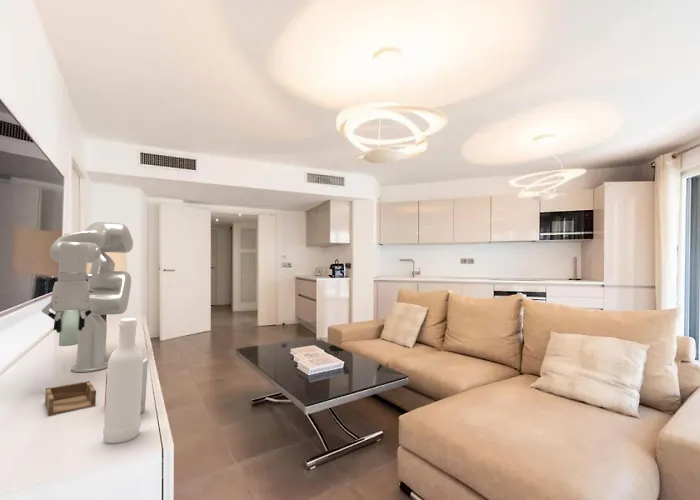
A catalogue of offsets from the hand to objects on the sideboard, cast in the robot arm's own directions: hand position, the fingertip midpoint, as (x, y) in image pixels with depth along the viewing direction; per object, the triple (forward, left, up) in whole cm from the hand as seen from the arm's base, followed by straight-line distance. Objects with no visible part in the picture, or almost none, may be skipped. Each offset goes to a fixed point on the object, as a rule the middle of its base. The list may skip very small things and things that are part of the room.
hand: (69, 330), depth 118 cm
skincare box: (+34, +11, -21) cm, 42 cm away
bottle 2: (+46, +7, -21) cm, 52 cm away
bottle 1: (0, 0, -5) cm, 5 cm away
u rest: (+13, 0, -21) cm, 25 cm away
